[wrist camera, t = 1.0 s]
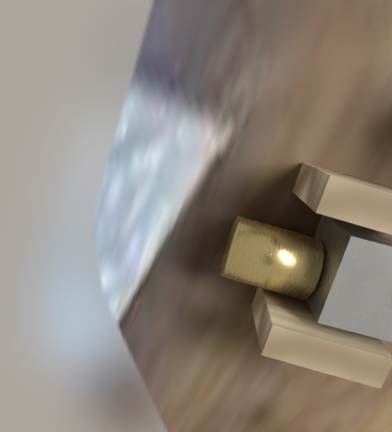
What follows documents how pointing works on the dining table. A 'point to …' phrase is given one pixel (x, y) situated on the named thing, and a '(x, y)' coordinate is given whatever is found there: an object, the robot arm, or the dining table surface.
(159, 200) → the dining table surface
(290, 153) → the dining table surface
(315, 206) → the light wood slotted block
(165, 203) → the dining table surface
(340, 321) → the grey rectangular block
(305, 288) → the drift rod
